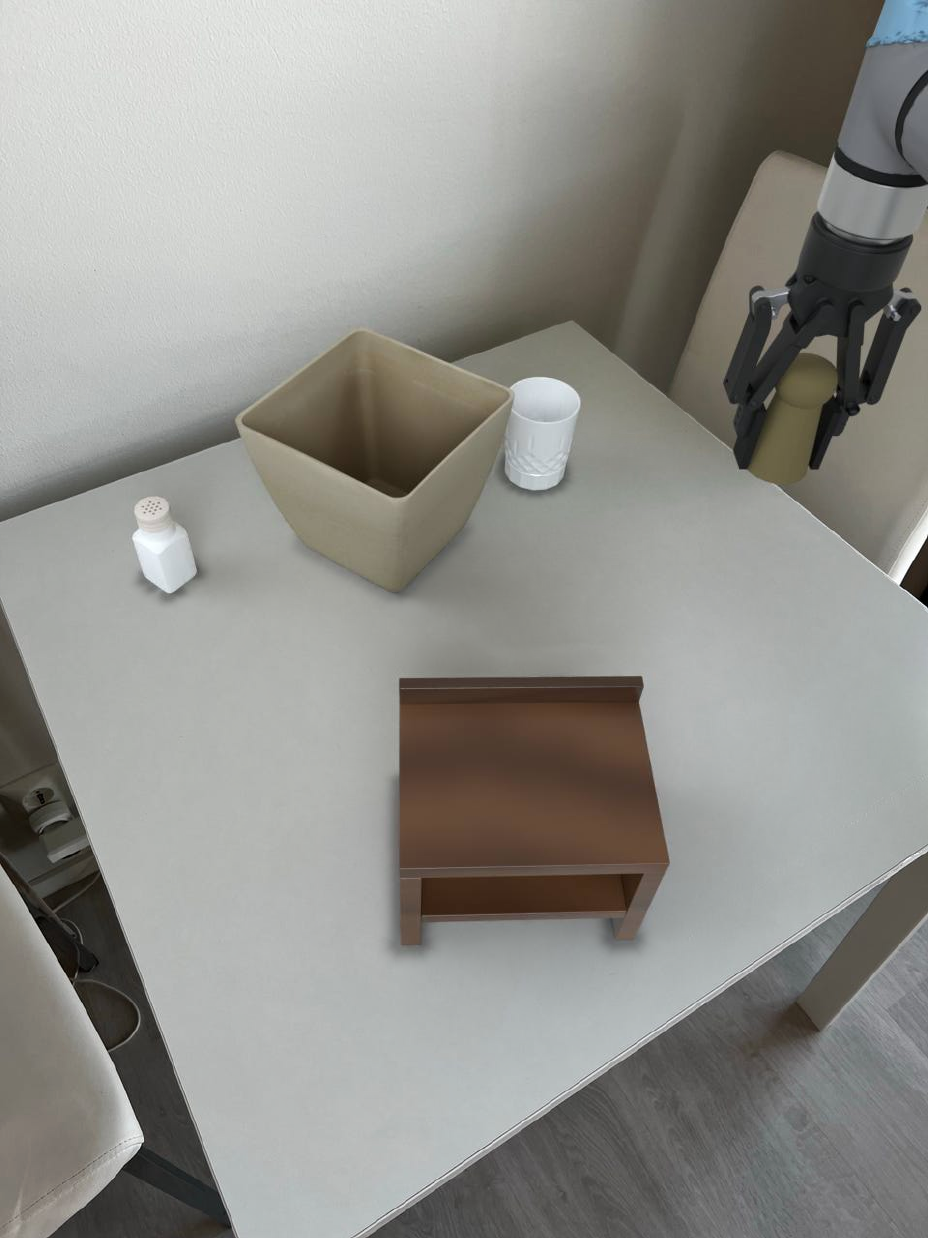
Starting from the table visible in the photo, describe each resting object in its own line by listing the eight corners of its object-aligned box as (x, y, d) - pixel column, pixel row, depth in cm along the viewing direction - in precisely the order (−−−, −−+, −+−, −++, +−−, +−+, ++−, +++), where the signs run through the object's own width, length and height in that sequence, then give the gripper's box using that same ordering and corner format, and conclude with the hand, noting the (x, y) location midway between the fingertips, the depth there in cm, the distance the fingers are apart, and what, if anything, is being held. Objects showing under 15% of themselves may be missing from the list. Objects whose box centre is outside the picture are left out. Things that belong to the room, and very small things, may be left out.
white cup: (582, 471, 108) (595, 400, 100) (537, 505, 104) (547, 433, 96) (530, 439, 111) (539, 367, 103) (484, 470, 107) (490, 398, 99)
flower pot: (253, 548, 98) (228, 418, 85) (365, 451, 108) (358, 321, 95) (402, 632, 92) (400, 505, 79) (506, 520, 102) (519, 391, 89)
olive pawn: (742, 438, 91) (776, 337, 83) (806, 448, 90) (846, 348, 82) (741, 478, 87) (776, 377, 79) (808, 489, 86) (851, 388, 78)
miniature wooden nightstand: (633, 940, 73) (676, 850, 61) (400, 946, 72) (398, 855, 60) (608, 781, 82) (642, 675, 70) (401, 784, 81) (399, 677, 69)
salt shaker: (170, 597, 93) (149, 529, 86) (142, 578, 95) (120, 509, 87) (200, 574, 95) (183, 505, 88) (173, 556, 97) (153, 486, 89)
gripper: (968, 199, 74) (861, 434, 92) (729, 194, 73) (667, 434, 90) (1007, 248, 69) (887, 487, 87) (752, 244, 68) (682, 486, 86)
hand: (775, 459), depth 89 cm, fingers closed on olive pawn, 6 cm apart
